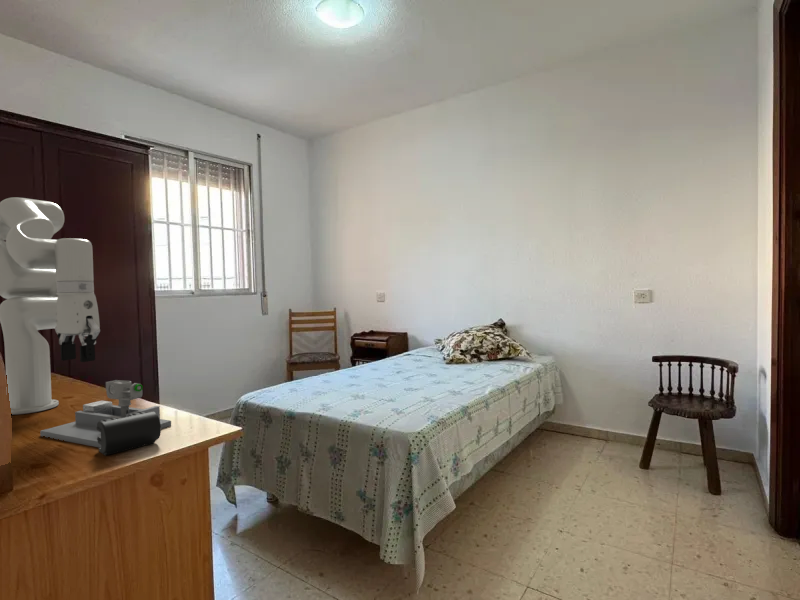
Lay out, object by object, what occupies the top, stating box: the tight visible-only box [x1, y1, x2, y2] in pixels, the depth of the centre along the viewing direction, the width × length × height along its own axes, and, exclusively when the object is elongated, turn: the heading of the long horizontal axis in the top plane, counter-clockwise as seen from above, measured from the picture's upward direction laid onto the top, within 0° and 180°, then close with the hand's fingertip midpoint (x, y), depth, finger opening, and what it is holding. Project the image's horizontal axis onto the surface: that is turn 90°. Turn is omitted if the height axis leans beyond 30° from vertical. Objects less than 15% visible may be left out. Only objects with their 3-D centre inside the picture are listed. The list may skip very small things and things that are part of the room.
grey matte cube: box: [82, 400, 113, 415], centre depth 107 cm, size 4×4×4 cm
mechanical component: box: [105, 379, 144, 417], centre depth 103 cm, size 3×10×10 cm, turn 68°
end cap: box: [96, 412, 162, 456], centre depth 91 cm, size 10×7×7 cm
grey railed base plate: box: [39, 404, 172, 449], centre depth 102 cm, size 22×16×5 cm
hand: (78, 359), depth 109 cm, fingers open, 6 cm apart
